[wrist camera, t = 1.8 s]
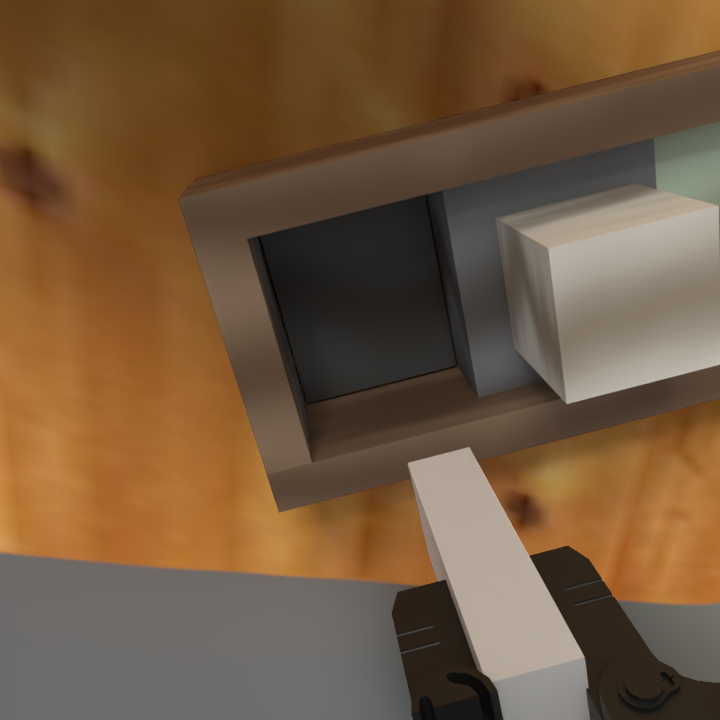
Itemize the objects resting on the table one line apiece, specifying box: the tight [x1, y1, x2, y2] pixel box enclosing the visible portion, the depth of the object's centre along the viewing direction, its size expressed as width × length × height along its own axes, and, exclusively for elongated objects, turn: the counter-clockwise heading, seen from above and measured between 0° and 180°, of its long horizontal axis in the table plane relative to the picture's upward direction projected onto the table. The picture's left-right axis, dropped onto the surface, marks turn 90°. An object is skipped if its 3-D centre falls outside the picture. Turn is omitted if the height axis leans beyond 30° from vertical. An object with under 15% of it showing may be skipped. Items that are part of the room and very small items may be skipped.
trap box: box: [178, 51, 720, 512], centre depth 31 cm, size 14×38×6 cm, turn 103°
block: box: [495, 183, 720, 404], centre depth 27 cm, size 6×6×6 cm
